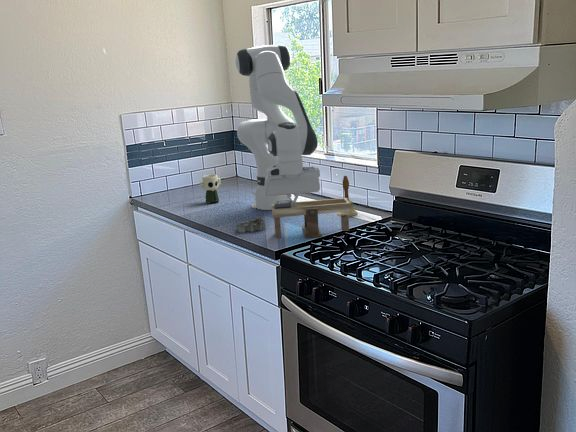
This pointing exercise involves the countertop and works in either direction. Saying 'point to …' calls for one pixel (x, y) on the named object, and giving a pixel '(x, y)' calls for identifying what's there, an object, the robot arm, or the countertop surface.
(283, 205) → the steel block
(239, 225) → the egg carton
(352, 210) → the hand bell
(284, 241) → the countertop surface
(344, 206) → the beam
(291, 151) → the robot arm
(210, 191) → the spiky head figurine
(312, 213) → the beam stand
